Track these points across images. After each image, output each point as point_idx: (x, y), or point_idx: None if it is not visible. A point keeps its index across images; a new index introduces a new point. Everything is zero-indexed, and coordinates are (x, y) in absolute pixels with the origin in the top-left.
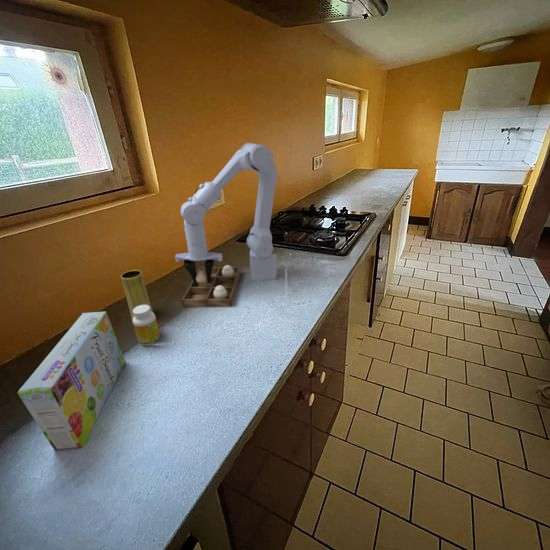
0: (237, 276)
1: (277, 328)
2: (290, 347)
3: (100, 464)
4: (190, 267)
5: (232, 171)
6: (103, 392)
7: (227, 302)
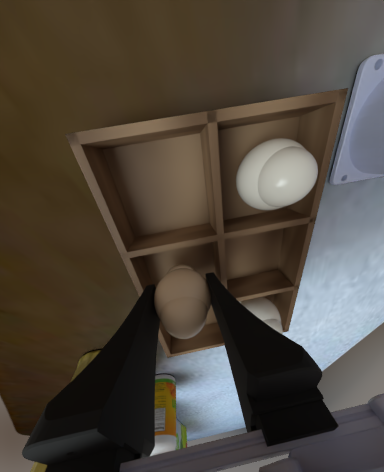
0: (315, 212)
1: (343, 326)
2: (347, 345)
3: (204, 426)
4: (150, 422)
5: None
6: (176, 434)
7: None
